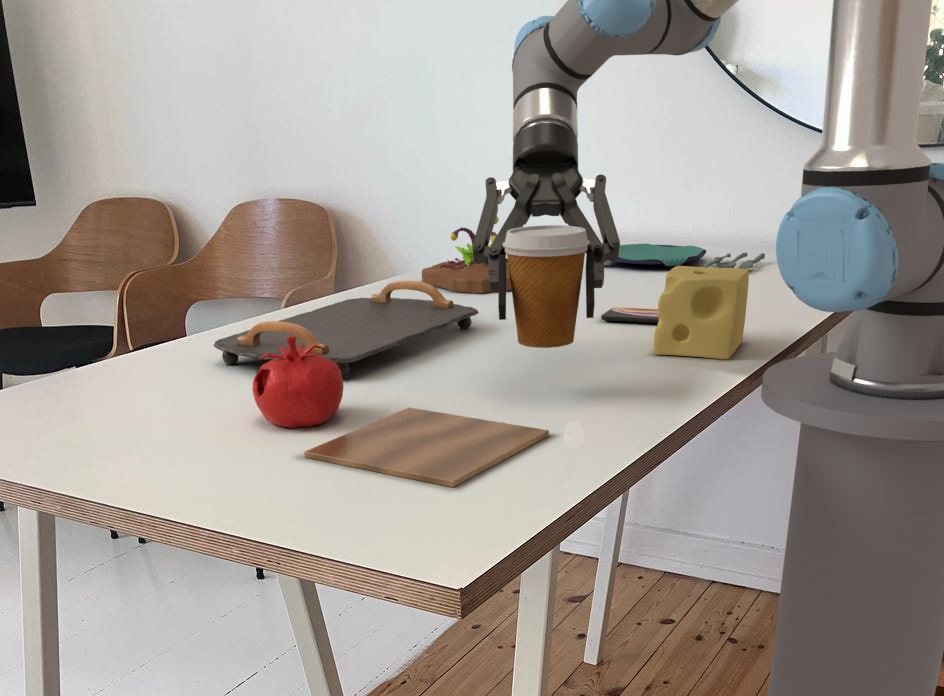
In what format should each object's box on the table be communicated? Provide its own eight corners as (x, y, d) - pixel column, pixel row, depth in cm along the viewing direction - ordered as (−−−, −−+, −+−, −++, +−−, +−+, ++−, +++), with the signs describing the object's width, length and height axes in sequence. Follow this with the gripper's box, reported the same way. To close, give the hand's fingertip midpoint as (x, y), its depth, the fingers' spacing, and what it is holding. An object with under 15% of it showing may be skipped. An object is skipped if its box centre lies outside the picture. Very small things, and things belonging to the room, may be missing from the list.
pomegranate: (357, 408, 125) (351, 325, 121) (328, 434, 116) (321, 346, 112) (276, 405, 127) (267, 323, 123) (241, 430, 119) (231, 344, 114)
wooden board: (549, 435, 114) (549, 430, 114) (453, 487, 101) (453, 481, 101) (409, 412, 123) (408, 407, 123) (304, 457, 110) (303, 451, 110)
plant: (563, 282, 192) (564, 214, 187) (471, 297, 182) (470, 225, 177) (496, 268, 207) (495, 205, 202) (408, 281, 197) (405, 214, 192)
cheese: (652, 355, 144) (657, 276, 139) (670, 337, 153) (675, 262, 148) (732, 361, 140) (740, 280, 136) (746, 342, 149) (754, 265, 144)
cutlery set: (622, 252, 220) (622, 240, 219) (770, 261, 207) (771, 248, 206) (581, 268, 205) (581, 255, 204) (738, 278, 192) (739, 264, 191)
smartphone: (612, 306, 168) (710, 311, 163) (612, 312, 169) (710, 317, 164) (599, 315, 162) (700, 320, 157) (599, 321, 162) (700, 327, 157)
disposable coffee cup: (596, 334, 127) (598, 225, 122) (576, 353, 119) (578, 237, 114) (517, 331, 130) (516, 224, 125) (493, 349, 122) (491, 235, 117)
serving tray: (364, 313, 173) (361, 272, 170) (493, 325, 162) (492, 281, 160) (196, 369, 144) (189, 320, 141) (340, 388, 133) (336, 336, 130)
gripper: (636, 163, 130) (642, 329, 123) (454, 169, 131) (450, 333, 124) (642, 115, 123) (649, 288, 116) (449, 122, 124) (444, 293, 117)
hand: (546, 311), depth 120 cm, fingers closed on disposable coffee cup, 9 cm apart
